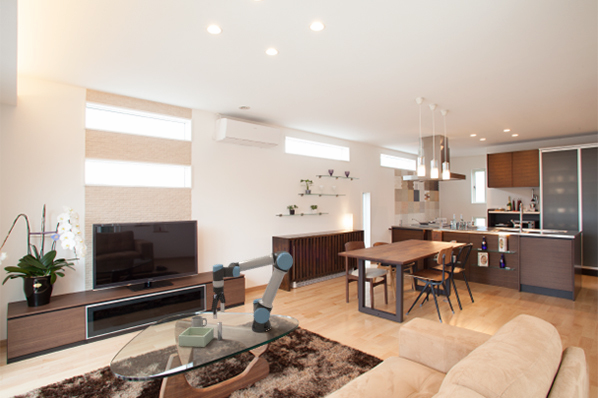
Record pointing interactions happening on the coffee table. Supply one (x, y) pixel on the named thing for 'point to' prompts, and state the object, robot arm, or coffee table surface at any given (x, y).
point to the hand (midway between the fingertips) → (219, 315)
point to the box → (196, 336)
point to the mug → (198, 321)
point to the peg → (219, 330)
